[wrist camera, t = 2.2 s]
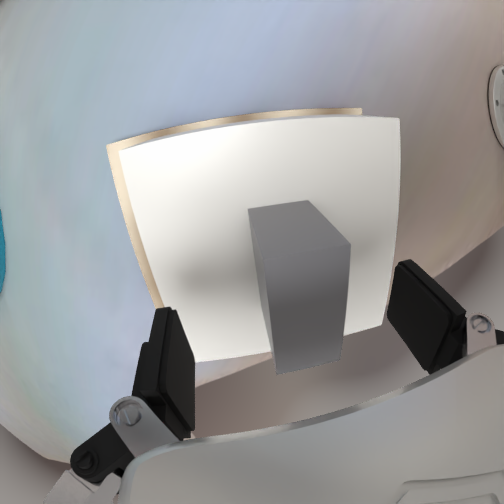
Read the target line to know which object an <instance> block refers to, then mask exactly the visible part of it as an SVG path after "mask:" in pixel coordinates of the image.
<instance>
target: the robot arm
mask: <svg viewBox="0 0 504 504" xmlns="http://www.w3.org/2000/svg"><path fill="white" fill-rule="evenodd" d="M489 108H490V115H491V120H492V124H493V127H494V131H495V133H496V136H497V138H498V140H499V142H500V144H501V145H502V146H503V148H504V65H500V66H497V67H496V68H495V69H494V70H493V72H492V74H491V78H490V82H489ZM465 314H466V310H465V309H464V308H462V307H461V305H460V304H459V303H458V302H456V300H455V299H454V298H453V297H452V296H450V295H449V294H448V293H447V292H446V291H445V290H444V289H443V288H442V287H441V286H440V285H439V284H438V283H437V282H436V281H435V280H434V279H433V278H431V277H430V276H429V275H428V274H427V273H426V272H425V271H424V270H423V269H422V268H420V267H419V266H418V265H417V264H416V263H415V262H414V261H412V260H411V259H409V260H405V261H401V262H399V263H398V265H397V266H396V267H395V272H394V278H393V284H392V290H391V295H390V300H389V305H388V311H387V318H388V320H389V321H390V323H391V324H392V326H393V327H394V328H395V330H396V331H397V332H398V334H399V335H400V337H401V338H402V339H403V341H404V342H405V343H406V344H407V346H408V348H409V349H410V351H411V352H412V353H413V355H414V356H415V358H416V359H417V361H418V362H419V363H420V365H421V367H422V368H423V369H424V370H427V371H428V373H429V374H430V375H429V376H426V377H424V378H422V379H420V380H418V381H416V382H413V383H411V384H409V385H407V386H404V387H402V388H400V389H397V390H395V391H392V392H390V393H387V394H385V395H382V396H379V397H377V398H374V399H371V400H369V401H366V402H363V403H360V404H357V405H354V406H351V407H348V408H345V409H342V410H338V411H335V412H332V413H328V414H325V415H321V416H317V417H314V418H310V419H306V420H302V421H298V422H293V423H289V424H284V425H279V426H274V427H269V428H264V429H258V430H253V431H247V432H240V433H234V434H227V435H219V436H212V437H204V438H196V439H190V440H184V441H183V438H191V431H194V430H195V358H194V354H193V352H192V349H191V347H190V344H189V342H188V339H187V336H186V334H185V331H184V329H183V326H182V323H181V321H180V318H179V315H178V313H177V310H176V309H174V310H172V308H171V307H170V306H169V307H163V308H157V309H156V311H155V315H154V320H153V324H152V329H151V333H150V338H149V342H144V343H143V344H142V347H141V351H140V356H139V360H138V365H137V370H136V375H135V380H134V385H133V391H132V396H128V397H123V398H121V399H119V400H118V401H117V402H115V403H114V404H113V406H112V408H111V410H110V413H109V419H110V423H109V424H108V425H106V426H105V427H104V428H103V429H101V430H100V431H99V432H97V433H96V434H95V435H93V436H92V437H91V438H89V439H88V440H87V441H85V442H84V443H83V444H81V445H80V446H79V447H77V448H76V449H75V450H74V451H73V453H72V455H71V459H70V464H71V469H70V471H67V470H65V472H64V473H63V474H62V476H61V477H60V479H59V480H58V481H57V483H56V484H55V486H54V487H53V488H52V490H51V491H50V492H49V494H48V495H47V497H46V498H45V500H44V502H43V504H113V502H112V500H113V498H114V497H115V495H116V494H119V498H118V504H504V332H503V331H500V330H496V329H495V327H494V324H493V321H492V320H491V319H490V318H489V317H488V316H486V315H485V314H482V313H472V314H470V315H469V316H468V317H467V318H466V317H465ZM440 369H441V370H440Z"/></svg>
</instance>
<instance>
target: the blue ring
mask: <svg viewBox="0 0 504 504" xmlns="http://www.w3.org/2000/svg"><path fill="white" fill-rule="evenodd" d="M4 276H5V240H4V233H3V225H2V216H1V210H0V293H1V291H2V286H3V281H4Z"/></svg>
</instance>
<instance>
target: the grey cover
mask: <svg viewBox="0 0 504 504" xmlns="http://www.w3.org/2000/svg"><path fill="white" fill-rule="evenodd" d="M118 152H119V156H120V161H121V165H122V170H123V174H124V178H125V182H126V186H127V190H128V194H129V198H130V202H131V206H132V209H133V213H134V216H135V220H136V223H137V227H138V230H139V234H140V237H141V240H142V243H143V246H144V250H145V253H146V256H147V259H148V262H149V265H150V268H151V271H152V274H153V277H154V279H155V282H156V285H157V288H158V291H159V293H160V296H161V299H162V301H163V304H164V307H169V306H170V307H171V308H172V310H174V309H176V310H177V313H178V315H179V318H180V321H181V323H182V326H183V329H184V331H185V334H186V336H187V339H188V342H189V344H190V347H191V349H192V352H193V354H194V358H195V362H203V361H212V360H219V359H227V358H234V357H240V356H247V355H253V354H259V353H265V352H270V351H271V352H272V356H273V360H274V365H275V370H276V374H282V373H287V372H292V371H297V370H301V369H306V368H310V367H315V366H319V365H323V364H327V363H331V362H335V361H339V360H340V357H341V350H342V343H343V335H347V334H351V333H355V332H359V331H362V330H366V329H369V328H373V327H376V326H380V325H382V320H383V316H384V311H385V306H386V301H387V296H388V291H389V285H390V279H391V273H392V266H393V259H394V251H395V243H396V234H397V223H398V211H399V195H400V162H401V151H400V119H399V118H392V117H381V116H367V115H348V114H327V115H304V116H290V117H278V118H267V119H258V120H250V121H242V122H235V123H228V124H222V125H216V126H210V127H204V128H199V129H194V130H189V131H184V132H179V133H174V134H170V135H165V136H161V137H157V138H154V139H150V140H147V141H145V142H142V143H139V144H136V145H133V146H130V147H128V148H125V149H122V150H120V151H118Z"/></svg>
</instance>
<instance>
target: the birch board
mask: <svg viewBox="0 0 504 504" xmlns="http://www.w3.org/2000/svg"><path fill="white" fill-rule="evenodd" d="M327 114H348V115H362V108H319V109H298V110H283V111H272V112H262V113H253V114H245V115H237V116H230V117H224V118H217V119H211V120H206V121H200V122H195V123H190V124H185V125H180V126H176V127H171V128H167V129H162V130H158V131H154V132H150V133H146V134H143V135H139V136H135V137H132V138H128V139H125V140H121V141H118V142H115V143H112V144H108V145H106V147H107V152H108V157H109V161H110V166H111V170H112V174H113V178H114V182H115V186H116V190H117V194H118V198H119V201H120V205H121V209H122V212H123V216H124V219H125V222H126V226H127V229H128V232H129V235H130V238H131V242H132V245H133V248H134V251H135V254H136V257H137V260H138V263H139V265H140V268H141V271H142V274H143V277H144V279H145V282H146V285H147V287H148V290H149V293H150V295H151V298H152V300H153V303H154V305H155V308H156V309H157V308H163V307H164V304H163V301H162V299H161V296H160V293H159V291H158V288H157V285H156V282H155V279H154V277H153V274H152V271H151V268H150V265H149V262H148V259H147V256H146V253H145V250H144V246H143V243H142V240H141V237H140V234H139V230H138V227H137V223H136V220H135V216H134V213H133V209H132V206H131V202H130V198H129V194H128V190H127V186H126V182H125V178H124V174H123V170H122V165H121V161H120V156H119V152H118V151H120V150H122V149H125V148H128V147H130V146H133V145H136V144H139V143H142V142H145V141H147V140H150V139H154V138H157V137H161V136H165V135H170V134H174V133H179V132H184V131H189V130H194V129H199V128H204V127H210V126H216V125H222V124H228V123H235V122H242V121H250V120H258V119H267V118H278V117H290V116H304V115H327Z"/></svg>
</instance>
